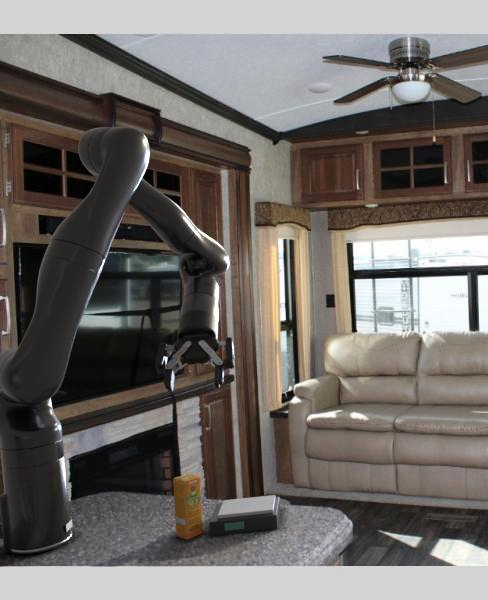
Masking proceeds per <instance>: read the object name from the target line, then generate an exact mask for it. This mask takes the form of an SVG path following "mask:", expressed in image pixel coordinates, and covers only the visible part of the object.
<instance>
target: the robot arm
mask: <svg viewBox="0 0 488 600" xmlns="http://www.w3.org/2000/svg"><path fill="white" fill-rule="evenodd" d="M77 148H78V149H77V151H78V156H79V159H80V161H81V163H82V165H83V166H84V167H85V169H86V170H87V171H88V173H90V174H91V175H92V176H94V177H95V178H96V179H95V181H94V183H93V186H92V187H91V189H90V191H89V193H87V195H86V196H85V198H84V199H83V200H82V201H81V202H80V203H79V204H78V205H77V206H76V207H75V208H74V209H73V210H72V211H71V212H70V213H69V214H68V215H67V216H66V217H65V218H64V219H63V220H62V221H61V222H60V224H59V225H58V226H57V228H56V229H55V231H54V232H53V234H52V236H51V238H50V240H49V243H48V246H47V247H46V250H45V253H44V255H43V258H42V260H41V263H40V265H39V266H40V267H39V270H38V276H37V283H36V284H37V285H36V295H35V305H34V311H33V315H32V318H31V321H30V323H29V325H28V327H27V329H26V332H25V333H24V335H23V338H22V339H21V342H20V343H19V345H18V346H15V347H10V348H7V349H5V350H3V351H2V352H0V459H1V460H0V461H1V471H2V482H3V493H2V494H0V519H1V520H0V521H1V522H0V540H1V539H2V540H3V550H4V551H3V552H4V554H14V555H34V554H40V553H44V552H48V551H51V550H54V549H56V548H59V547H61V546H63V545H66V543H68V542H69V541H71V539H73V531H72V528H73V519H71V513H70V502H69V492H68V490H69V489H68V481H67V470H66V458H65V449H64V448H65V447H64V438H63V427H62V423H61V421H60V420H59V418H58V417H57V415H56V413H55V411H54V408H53V404H52V397H54V396H55V395H56V393H57V392H58V391H59V389H60V388H61V386H62V385H63V381H64V378H65V375H66V373H67V368H68V364H69V361H70V357H71V353H72V350H73V346H74V342H75V339H76V335H77V332H78V329H79V326H80V324H81V321H82V318H83V317H84V314H85V312H86V310H87V307H88V304H89V302H90V299H91V297H92V295H93V292H94V290H95V287H96V285H97V283H98V281H99V278H100V276H101V273H102V271H103V268H104V265H105V263H106V260H107V257H108V254H109V251H110V249H111V246H112V243H113V240H114V238H115V237H116V234H117V231H118V229H119V226H120V225H121V221H122V219H123V217H124V214H125V212H126V210H127V208H128V206H129V207H130V208H131V209H132V210H133V211H134V212H136V213H137V215H138V216H140V217H141V218H142V219H143V220H144V221H145V222H146V223H147V224H148V225H149V226H150V228H151V229H152V230H153V231H154V232H155V234H156V235H157V236H158V237H159V238H160V240H161V241H162V242H163V243H164V244H165V245H166V246H167V247H168V248H169V250H170V251H171V252H173V253H175V254H178V255H181V256H180V257H179V259H178V262H177V267H178V271H179V273H180V277H181V281H182V286H183V295H182V296H183V297H182V303H181V307H180V313H179V321H178V322H179V323H178V330H177V340H176V342H175V343H174V344H167V343H166V342H165V341H162V342H160V343H159V345H158V350H157V355H156V359H155V363H154V366H155V369H156V371H157V374H158V375H160V376H161V375H164V377H163V385H164V387H165V390H167V391H168V393H172V392H174V387H175V378H176V377H175V374H176V373H177V372H178V371H179V370H182V369H184V367H185V366H186V365H188V366H189V365H191V366H192V365H197V364H199V365H203V364H206V363H207V362H208V364H210V365H211V366H212V367H213V368H214V379H213V381H214V387H215V389H220V388H221V386H222V385H223V384H224V381H225V371H226V370H228V369H230V370H233V369H234V368H235V366H236V365H235V346H234V342H233V338H232V337H231V336H228V337H225V340H218V338H219V337H218V336H219V335H218V334H219V333H218V332H219V323H220V311H219V310H220V309H219V296H220V295H219V294H220V289H219V284H218V282H217V281H216V279H214V277H215V278H216V277H218V276H221V275H223V274H225V273H226V272H227V271H228V269H229V267H230V258H229V257H230V256H229V255H228V252H227V251H226V249H225V248H224V247H223V246H222V245H221V244H220V243H219V242H218V241H217V240H215V239H214V238H212V237H210V236H209V235H207V234H206V233H205V232H203V231H202V230H200V229H199V228H198V227H197V226H196V225H195V223H194V222H193V221H192V219H190V217H189V216H188V215H187V214H186V212H185V210H183V208H181V207H180V205H178V204H177V203H176V202H175V201H173V200H172V199H171V198H169V197H168V196H166V195H165V194H164V193H163V192H161V191H159V190H158V189H157V188H156V187H154V186H153V185H151V184H150V183H149V182H148V181H146V180H145V178H143V177H144V175H145V174H146V171H147V169H148V165H149V162H150V156H151V150H150V149H151V148H150V144H149V141H148V138H147V137H146V135H145V133H144V132H142V130H139V129H138V128H135V127H132V126H103V127H102V126H101V127H95V128H90V129H88V130H86V131H85V132H84V133H83V134H82V135H81V137H80V139H79V141H78V146H77ZM220 349H222V351H223V352H225V359H223V360H222V358H221V357H220V356H218V354H217V352H219V350H220ZM173 352H175V353H174V354H172V353H173ZM171 355H172V357H171ZM169 357H171V359H170V360H169V361H168V358H169Z"/></svg>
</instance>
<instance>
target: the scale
mask: <svg viewBox="0 0 488 600" xmlns="http://www.w3.org/2000/svg"><path fill="white" fill-rule="evenodd" d="M280 503H281V502H280V497H279V496H276V495H275V494H271V495H261V496H253V497H252V496H251V497H243V498H233V499H224V500H223V501H222V502H219V503H216V505H215V507H214V510H213V513H212V515H211V518H210V520H209V532H210V535H209V536H210V537H214V536H215V537H216V536H224V535H232V534H241V533H250V532H259V531H270V530H277V529H278V527H279V520H280V513H281V505H280Z"/></svg>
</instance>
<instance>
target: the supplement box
mask: <svg viewBox="0 0 488 600" xmlns="http://www.w3.org/2000/svg"><path fill="white" fill-rule="evenodd" d="M172 482H173V483H172V484H173V499H174V502H173V503H174V520H175V521H174V522H175V535H176V537H179V538H181V539H184V540H191V539H193V538H195V537H198V536H200V535H203V534H204V533H203V532H204V531H203V508H202V507H203V506H202V487H201V485H202V484H201V476H199V475H197V474H194V473H190V472H188V473H186V474H183V475H180V476H176V477H174V478H173V479H172Z"/></svg>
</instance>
